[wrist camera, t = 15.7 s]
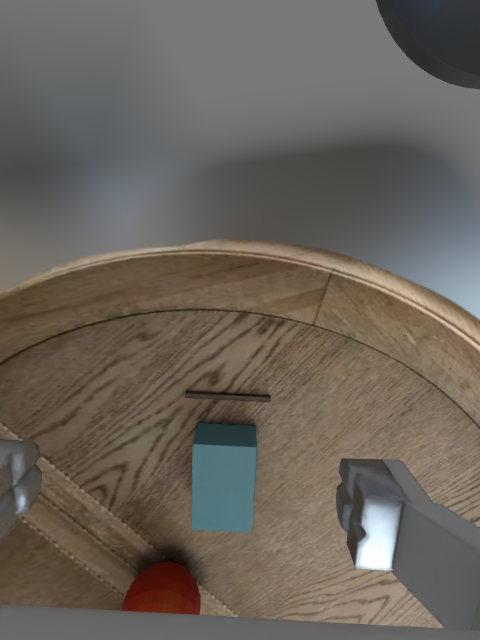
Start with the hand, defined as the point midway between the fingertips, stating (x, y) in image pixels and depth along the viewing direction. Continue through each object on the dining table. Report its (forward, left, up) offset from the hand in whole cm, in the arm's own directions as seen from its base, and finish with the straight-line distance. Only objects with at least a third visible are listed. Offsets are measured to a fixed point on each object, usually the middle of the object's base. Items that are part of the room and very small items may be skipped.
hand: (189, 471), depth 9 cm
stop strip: (+11, 0, -29) cm, 31 cm away
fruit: (+38, -7, -29) cm, 48 cm away
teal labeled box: (+20, 0, -25) cm, 32 cm away
